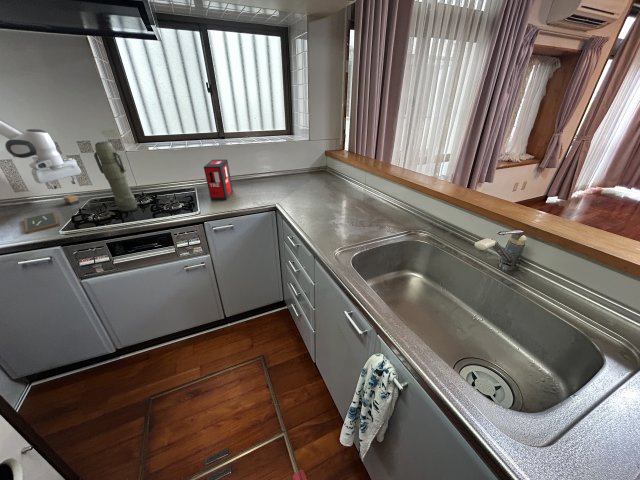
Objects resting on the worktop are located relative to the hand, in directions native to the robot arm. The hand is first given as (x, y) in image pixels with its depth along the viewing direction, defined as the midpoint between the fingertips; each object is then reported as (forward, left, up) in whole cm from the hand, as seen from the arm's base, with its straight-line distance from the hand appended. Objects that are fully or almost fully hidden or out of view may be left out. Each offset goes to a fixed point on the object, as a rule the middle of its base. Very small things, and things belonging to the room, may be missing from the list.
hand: (64, 186), depth 150 cm
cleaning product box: (+71, +46, -10) cm, 85 cm away
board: (+16, -21, -10) cm, 28 cm away
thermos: (+37, +9, -10) cm, 39 cm away
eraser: (0, 0, -10) cm, 10 cm away
